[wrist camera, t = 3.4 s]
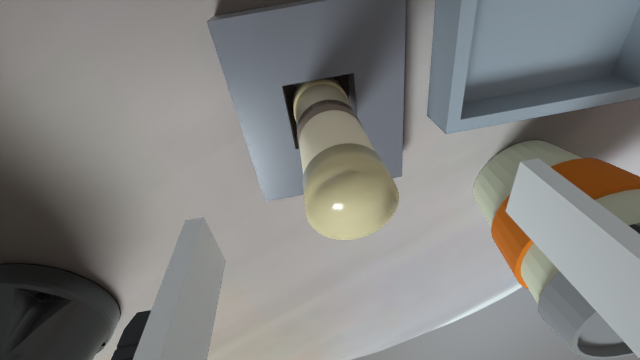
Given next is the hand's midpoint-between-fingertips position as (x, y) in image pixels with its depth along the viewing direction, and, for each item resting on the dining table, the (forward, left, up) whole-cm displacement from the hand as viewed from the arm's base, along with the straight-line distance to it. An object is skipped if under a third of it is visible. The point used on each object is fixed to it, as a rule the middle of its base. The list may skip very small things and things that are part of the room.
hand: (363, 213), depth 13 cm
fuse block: (0, 0, -14) cm, 14 cm away
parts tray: (+4, -17, -14) cm, 22 cm away
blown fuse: (0, 0, -14) cm, 14 cm away
